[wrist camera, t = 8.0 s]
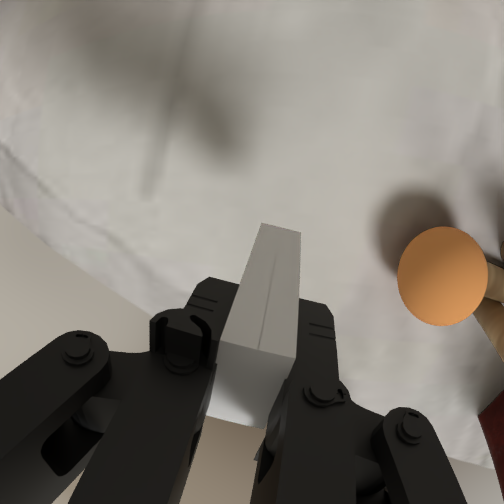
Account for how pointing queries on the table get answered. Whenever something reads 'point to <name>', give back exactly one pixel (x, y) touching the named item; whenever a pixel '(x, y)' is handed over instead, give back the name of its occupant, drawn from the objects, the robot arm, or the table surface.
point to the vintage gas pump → (495, 434)
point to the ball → (442, 276)
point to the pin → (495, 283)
